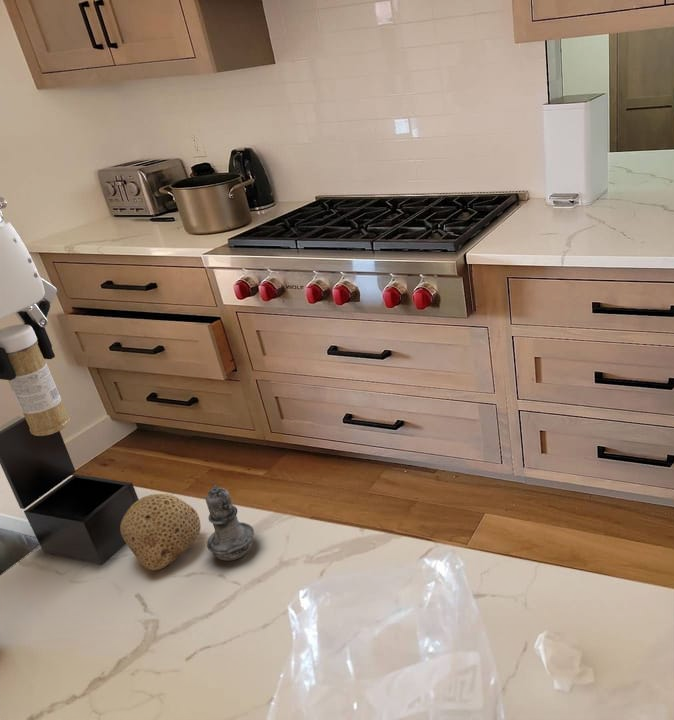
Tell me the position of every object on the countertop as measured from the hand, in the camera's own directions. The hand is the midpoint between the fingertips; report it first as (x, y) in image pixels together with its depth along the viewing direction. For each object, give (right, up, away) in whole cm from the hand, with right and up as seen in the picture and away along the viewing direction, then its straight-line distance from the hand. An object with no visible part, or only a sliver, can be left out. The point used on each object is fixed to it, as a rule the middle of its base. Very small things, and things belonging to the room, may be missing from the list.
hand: (24, 366), depth 82 cm
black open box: (+2, -25, +13) cm, 28 cm away
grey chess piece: (+23, -26, +8) cm, 35 cm away
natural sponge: (+14, -26, +9) cm, 31 cm away
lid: (-4, -12, +9) cm, 15 cm away
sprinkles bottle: (+1, -8, +4) cm, 9 cm away
